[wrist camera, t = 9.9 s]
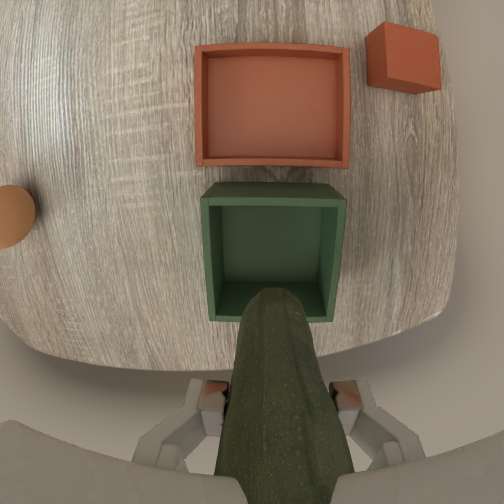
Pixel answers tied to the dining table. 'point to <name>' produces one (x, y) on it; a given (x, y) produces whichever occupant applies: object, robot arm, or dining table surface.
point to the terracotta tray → (272, 105)
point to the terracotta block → (402, 59)
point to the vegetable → (280, 410)
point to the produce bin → (272, 245)
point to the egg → (15, 215)
